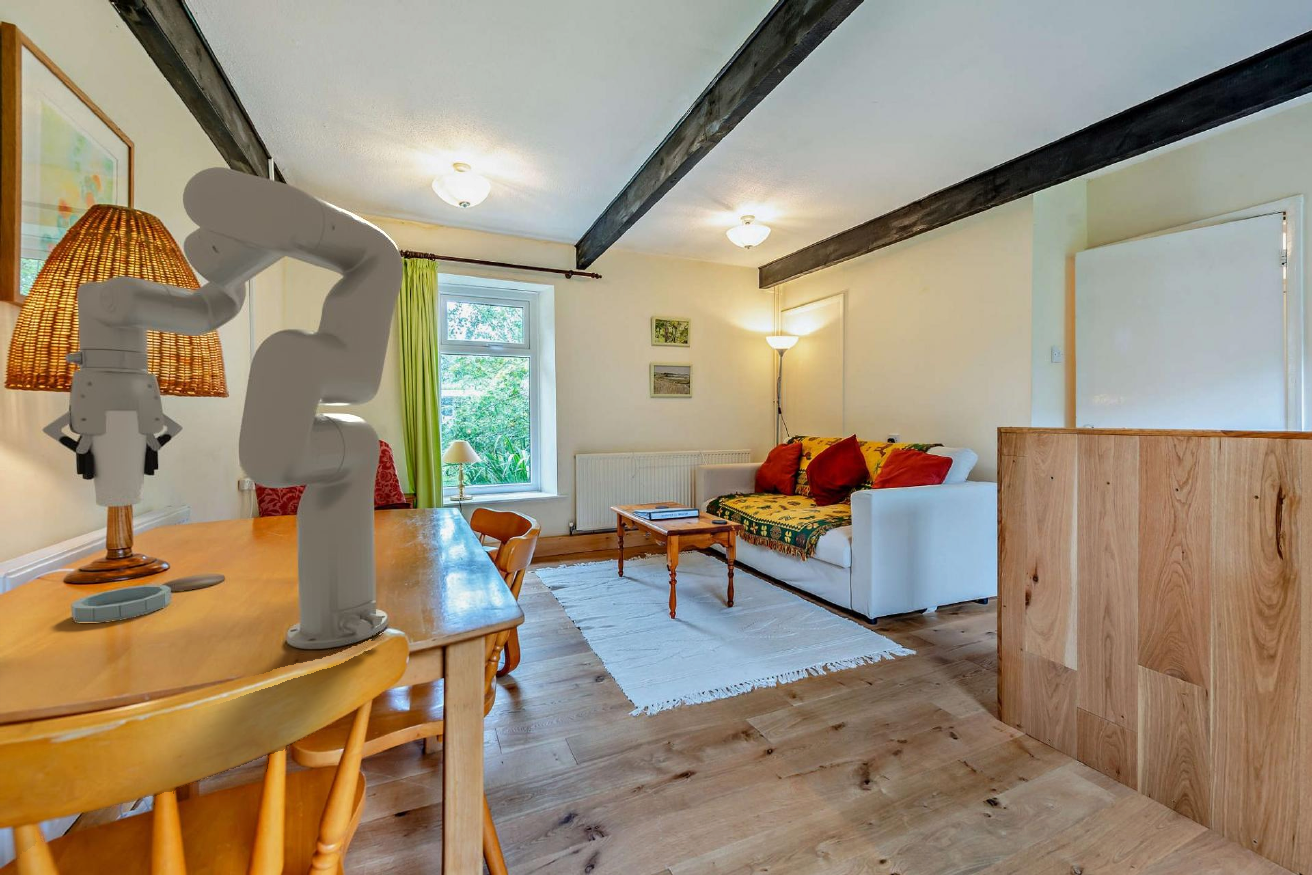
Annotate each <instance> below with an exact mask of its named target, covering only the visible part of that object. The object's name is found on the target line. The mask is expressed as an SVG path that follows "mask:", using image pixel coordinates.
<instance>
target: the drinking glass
mask: <svg viewBox="0 0 1312 875" xmlns="http://www.w3.org/2000/svg"><path fill="white" fill-rule="evenodd" d="M105 415H106V434H103V435H101V436H92V437H93V442H92V444H91V446H90V447H89V450H90V453H91V454H93V472H94V478H93V484H94V492H95V503H96V505H97V506H99V507H107V508H108V507H123V506H124V507H126V506H133V505H137V504H140V503H142V502H143V501H144V483H145V474H144V470H145V458H146V446H147V441H146V436H147V435H142V434H140V433H139V430H138V420H137V416H138V414H136V411H107V414H106V412H105Z"/></svg>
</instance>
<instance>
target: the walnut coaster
mask: <svg viewBox="0 0 1312 875" xmlns="http://www.w3.org/2000/svg"><path fill="white" fill-rule="evenodd" d="M225 579H226V576H225V575H224V574H221V573H220V574H218V573H206V574H205V573H204V574H197V575H191V576H184V577H180V578H176V579H172V580H169V581H167V582H164V583H163V584H161V585H166V586H168V587H170V588H171V591H180V590H189V591H193V590H192V589H195V590H198V589H197V588H201V587H205V588H209V587H211V586H210V585H213V586H216V585H218V583H219V584H221V583H223V582H225ZM208 586H209V587H208ZM201 589H202V588H201ZM180 592H181V591H180Z"/></svg>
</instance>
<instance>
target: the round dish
mask: <svg viewBox="0 0 1312 875" xmlns="http://www.w3.org/2000/svg"><path fill="white" fill-rule="evenodd" d="M171 600H172V592H171V588H170V587H168V586H166V585H162V584H144V585H134V586H127V587H122V588H116V589H112V590H111V589H110V590H107V591H106V590H105V591H102V592H98V593H94V594H91V595H87V596H85V597H84V596H83V597H81V598H79V599H78V600H75V601H74V602H72V603H70V607H71V608H70V610H71V617H72V619H73V620H74V621H76V622H106V621H112V620H120V619H124V618H130V619H133V618H132V617H134V616H138V615H142V616H144V615H143V614H146V613H149V614H152V613H154V612H153V611H155V612H157V611H156V610H158V609H160V610H162V609H161V608H163V607H165V608H167V607H168V606H169V605H170V604H171ZM169 603H170V604H169ZM167 605H168V606H167ZM163 609H164V608H163ZM158 611H159V610H158ZM151 612H152V613H151ZM146 615H147V614H146ZM134 618H135V617H134ZM73 620H72V621H73ZM74 621H73V622H74ZM120 621H121V620H120Z"/></svg>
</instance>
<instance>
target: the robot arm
mask: <svg viewBox="0 0 1312 875" xmlns="http://www.w3.org/2000/svg"><path fill="white" fill-rule="evenodd" d="M182 202H183V203H182V204H183V209H184V210H185V212H186V215H187V216H188V218H189V219H190V220H191V222H193V223H194V224H195V225H197V226H198V227H199V228H197V229H196V230H194V231H193V232H191V233H189V234H188V235H187V236H186V237H185V239H184V242H183V252H184V255H185V257H186V260H188V262H189V265H190V266H191V267H192V268H193V269H194V270H195V271H196V272H197V273H198V274H199V275H200V276H201V277H202V278H204V279H205V281H207V283H206V284H204V285H202V286H201V287H199V288H195V289H190V288H186V287H181V286H176V285H172V284H166V283H163V282H158V281H157V282H156V281H152V280H148V279H147V280H146V279H142V278H137V277H132V276H115V277H111V278H108V279H106V280H104V281H89V282H88V281H87V282H84V283H81V284H80V285H79V286H78V288H77V293H76V296H77V297H76V298H77V320H78V340H79V341H78V342H79V343H78V344H79V346H78V347H79V350H78V351H76V352H73V353H66V354H65V361H66V363H73V364H75V365H77V366H78V368H79V370H77V369H76V370H74V371H73V375H72V380H71V383H70V384H71V385H70V390H69V391H70V392H69V403H68V404H69V405H68V411H67V412H66V413H63V414H62V415H61V416H59V417H58V418H56V419H55V420H53V421H52V422H51V423H49V424H47V425H46V426H45V427H43V428H42V432H43V433H44V434H46V435H47V436H49V437H50V438H52V439H53V440H55V441H57V442H58V443H59V444H60V445H63V446H64V447H66V448H67V449H68V450H70V451H71V452H74V453H75V461H76V474H77V475H82V479H83V480H86V481H89V480H90V481H91V480H94V472H93V454H91V453H90V450H89V447H90V446H91V444H92V442H93V437H92V436H101V435H103V434H106V415H105V412H106V414H107V411H136V414H138V416H137V420H138V430H139V433H140V434H142V435H147V436H146V441H147V446H146V458H145V470H144V476H145V475H146V476H155V471H157V470H159V451H160V450H161V449H162V447H164V446H165V445H166V444H168V443H169V442H170V441H171V440H172V439H173V438H174V437H175V436H177V435H178V434H179V433H181V431H182V430H183V427H182V426H181V425H180V424H179V423H178V422H176V421H174V420H173V419H171V418H170V417H169V416H168V415H166V414H164V413H163V403H162V399H161V391H160V387H159V383H158V379H157V376H156V374H155V373H149V366H148V365H149V362H148V361H149V358H148V334H147V333H148V331H153V332H161V333H167V334H168V333H170V334H175V335H182V336H191V337H193V336H196V337H197V336H204V335H207V334H210V333H212V332H214V331H216V330H218V329H220V328H221V327H223V326H224V325H226V324H227V323H229V322H230V321H232V320H233V319H235V318H236V317H237V316H238V315H239V314H240V312H241V310H242V309H243V306H244V303H245V300H246V296H247V286H246V285H247V284H246V282H248V281H250V280H251V279H252V278H253V279H254V277H256V276H257V275H259V274H260V273H262V272H264V271H265V270H266V269H268V268H270V267H271V266H272V265H274V264H276V263H278V262H279V261H280V260H282V259H284V258H285V257H288V258H292V259H294V260H298V261H301V262H303V263H307V264H310V265H312V266H315V267H319V268H323V269H326V270H328V271H332V272H335V273H337V274H339V275H341V276H342V277H341V279H339V280H337V282H336V283H335V284H334V285H332V287H331V289H330V290H329V291H328V293H327V295H326V296H325V298H324V301H323V304H322V307H321V309H322V310H321V316H320V321H319V325H318V329H317V331H311V330H307V329H306V330H305V329H296V328H294V329H293V328H291V329H290V328H289V329H283V330H279V331H276V332H274V333H272V334H270V335H269V336H268V337H266V339H264V340H263V341H262V342H261V344H260V345H259V346H258V348H257V350H256V351H255V353H254V356H253V358H252V361H251V364H250V370H249V372H248V373H249V374H248V379H247V380H248V381H247V386H246V391H245V399H244V403H243V404H244V405H243V412H242V419H241V425H240V432H239V439H238V456H239V462H240V466H241V468H242V471H243V472H244V473H245V475H246V476H247V478H248V479H250V481H252V482H253V483H255V484H256V485H259V486H261V487H264V488H271V489H283V488H291V487H298V486H305V487H304V490H303V492H302V494H301V497H300V500H299V503H298V506H297V512H296V542H297V543H296V544H297V549H296V550H297V572H298V573H297V575H298V576H297V577H298V580H297V582H298V608H299V611H298V613H299V621H298V622H297V623H295V624H294V625H292V626H291V627H290V628H289V629H288V630H287V632H286V642H287V644H288V645H290V646H291V647H294V648H297V649H303V650H322V649H331V648H337V647H342V646H346V645H347V646H348V645H352V644H354V643H357V642H361V641H363V640H366V639H369V638H371V637H373V636H375V635H377V634H379V633H380V632H382V631H383V630H384V629H386V627H387V626H388V623H389V615H388V614H387V613H386V612H385V611H383V610H381V609H377V593H376V592H377V588H376V555H375V554H376V553H375V551H376V547H375V546H376V545H375V503H374V502H375V487H376V478H377V477H376V476H377V472H378V467H379V463H380V454H381V443H380V439H379V436H378V434H377V431H376V430H375V428H374V427H373V426H372V425H371V423H369V422H368V421H366V420H365V419H364V418H362V417H359V416H356V415H353V414H349V413H348V414H347V413H336V412H332V413H331V412H330V413H329V412H327V413H326V412H325V413H324V412H322V413H321V412H317V409H318V407H319V406H337V407H338V406H340V407H341V406H343V407H344V406H345V407H347V406H358V405H364V404H367V403H369V402H370V401H372V400H373V399H374V398H375V397H376V395H377V394H378V391H379V388H380V386H381V382H382V378H383V372H384V366H385V360H386V356H387V350H388V344H389V338H390V334H391V327H392V326H391V325H392V320H393V314H394V311H395V307H396V303H397V301H398V297H399V294H400V291H401V288H402V284H403V279H404V262H403V259H402V258H403V257H402V255H401V252H400V250H399V248H398V247H397V245H396V243H395V242H394V240H392V239H391V237H389V235H387V234H386V233H385V232H384V231H383V230H381V229H380V228H378V227H377V226H375V224H373V223H370V222H369V221H367V220H365V219H363V218H361V217H359V216H358V215H356V214H353V213H351V212H350V211H347V210H345V209H343V208H341V207H338V206H336V205H334V204H331V203H329V202H328V201H326V200H324V199H321V198H320V197H318V196H316V195H313V194H312V193H309V192H306V191H304V190H302V189H300V188H297V187H295V186H293V185H290V184H287V183H283V182H281V181H277V180H273V179H270V178H265V177H262V176H257V175H254V174H251V173H246V172H243V171H238V170H236V169H231V168H228V167H224V166H223V167H220V166H216V167H214V166H213V167H208V168H206V169H202V170H200V171H199V172H197V173H196V174H195V175H193V176H192V177H191V178H190V179H189V180H188V181H187V183H186V185H185V187H184V190H183V194H182ZM66 426H68V427H69V430H70V432H72V433H74V434H77V435H79V436H78V438H77V440H75V439H74V438H72V437H70V436H68V435H67V434H66V433H64V432H62V430H63V428H65V427H66ZM164 426H165V427H166V430H165V431H164V432H163V433H162V434H160V435H159V436H157V437H156V436H155V434H159V433H161V432H162V431H163V430H164ZM379 631H380V632H379ZM378 632H379V633H378ZM376 633H377V634H376ZM372 635H373V636H372Z"/></svg>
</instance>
